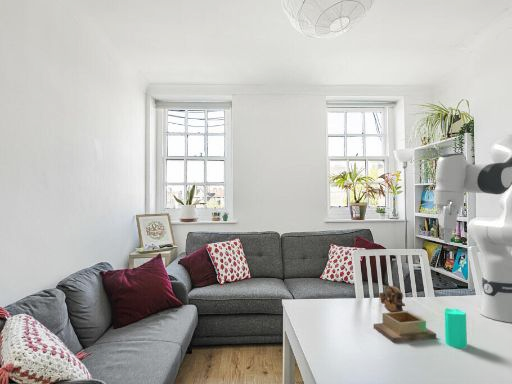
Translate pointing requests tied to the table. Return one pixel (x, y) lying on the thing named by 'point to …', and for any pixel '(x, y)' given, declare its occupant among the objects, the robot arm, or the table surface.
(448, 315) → the candle
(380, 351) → the table surface
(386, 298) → the wooden carving
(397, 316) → the candle stand
